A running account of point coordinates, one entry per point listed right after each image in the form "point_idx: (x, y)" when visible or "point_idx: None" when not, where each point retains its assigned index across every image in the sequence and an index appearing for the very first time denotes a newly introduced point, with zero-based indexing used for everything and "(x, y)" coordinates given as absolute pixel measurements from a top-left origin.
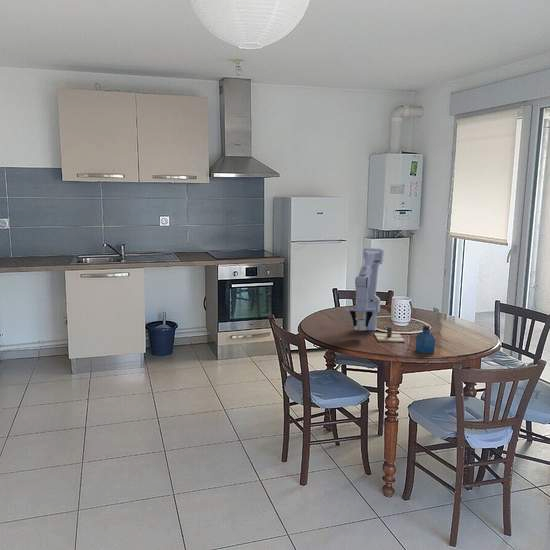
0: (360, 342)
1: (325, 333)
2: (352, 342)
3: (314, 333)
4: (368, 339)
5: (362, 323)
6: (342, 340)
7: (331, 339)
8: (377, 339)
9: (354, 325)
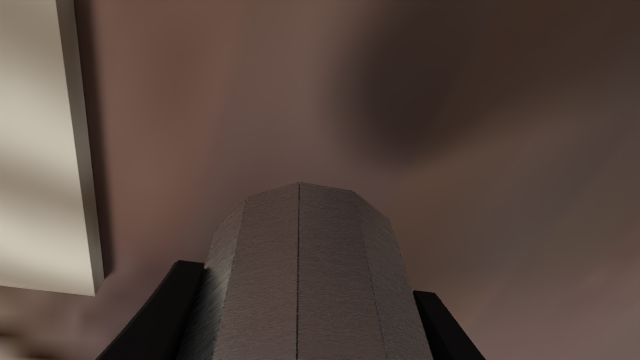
0: (360, 19)
1: (547, 341)
2: (473, 36)
3: (633, 345)
4: (203, 141)
5: (311, 292)
6: (543, 140)
7: (634, 188)
8: (75, 87)
9: (440, 305)
